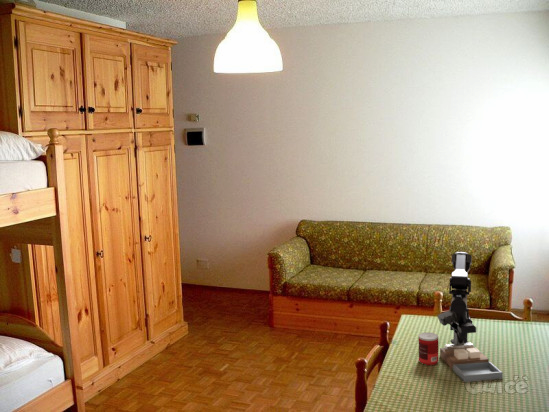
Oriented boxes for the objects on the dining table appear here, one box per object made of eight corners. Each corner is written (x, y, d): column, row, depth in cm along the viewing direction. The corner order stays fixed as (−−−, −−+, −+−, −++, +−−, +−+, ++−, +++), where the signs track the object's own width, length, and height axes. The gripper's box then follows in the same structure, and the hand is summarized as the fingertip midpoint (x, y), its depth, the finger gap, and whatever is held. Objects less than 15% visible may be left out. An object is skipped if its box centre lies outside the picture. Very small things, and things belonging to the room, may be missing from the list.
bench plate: (440, 356, 241) (440, 348, 240) (472, 353, 242) (472, 345, 242) (454, 370, 227) (454, 362, 226) (488, 367, 228) (488, 359, 228)
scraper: (444, 349, 239) (445, 332, 238) (470, 347, 240) (470, 330, 239) (447, 351, 237) (447, 334, 236) (473, 349, 238) (473, 332, 237)
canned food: (439, 359, 238) (439, 333, 236) (436, 367, 231) (436, 340, 229) (420, 356, 241) (420, 331, 240) (416, 364, 234) (416, 338, 232)
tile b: (466, 354, 233) (466, 348, 233) (475, 353, 233) (475, 347, 233) (470, 358, 229) (470, 352, 229) (480, 357, 230) (480, 351, 229)
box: (452, 370, 227) (453, 364, 226) (489, 367, 228) (489, 361, 228) (463, 382, 217) (464, 375, 217) (502, 378, 219) (502, 372, 218)
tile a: (454, 355, 233) (454, 349, 232) (463, 354, 233) (463, 348, 233) (458, 359, 229) (458, 353, 228) (468, 358, 229) (468, 352, 229)
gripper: (431, 299, 244) (431, 335, 246) (449, 314, 226) (449, 352, 228) (457, 297, 245) (456, 333, 247) (477, 312, 227) (476, 350, 229)
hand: (459, 342), depth 238 cm, fingers closed on scraper, 2 cm apart
